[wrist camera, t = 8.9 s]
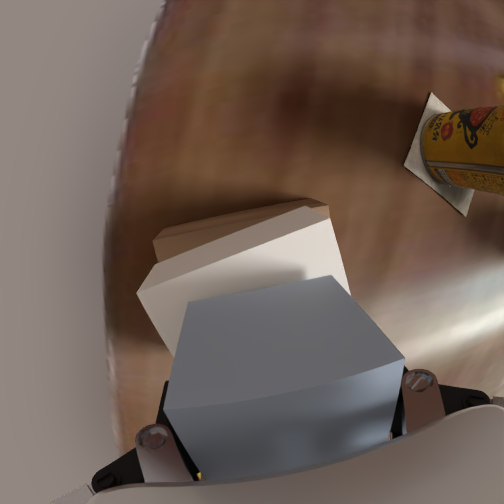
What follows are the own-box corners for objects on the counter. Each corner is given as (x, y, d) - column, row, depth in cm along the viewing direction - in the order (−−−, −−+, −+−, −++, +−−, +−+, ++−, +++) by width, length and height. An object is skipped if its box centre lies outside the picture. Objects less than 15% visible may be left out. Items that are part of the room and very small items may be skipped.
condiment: (429, 92, 18) (545, 71, 6) (486, 149, 19) (587, 161, 8) (401, 165, 19) (532, 181, 8) (463, 216, 21) (568, 255, 9)
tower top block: (342, 333, 19) (366, 369, 15) (217, 379, 19) (217, 421, 15) (305, 205, 16) (330, 218, 12) (155, 264, 16) (136, 293, 12)
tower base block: (323, 322, 23) (340, 350, 19) (201, 347, 22) (197, 379, 19) (309, 197, 20) (328, 204, 16) (166, 226, 20) (152, 240, 16)
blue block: (335, 380, 14) (378, 470, 8) (220, 403, 13) (222, 503, 8) (331, 274, 12) (404, 357, 6) (187, 302, 12) (163, 409, 6)
